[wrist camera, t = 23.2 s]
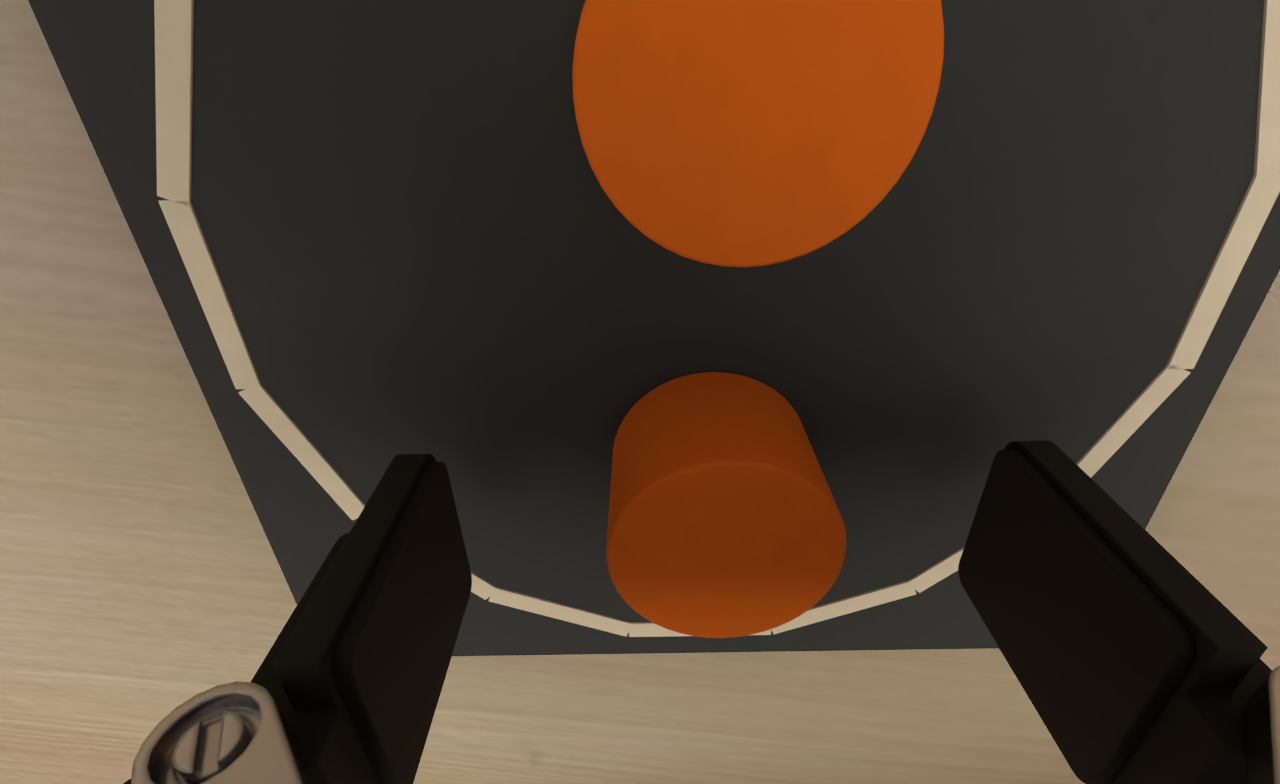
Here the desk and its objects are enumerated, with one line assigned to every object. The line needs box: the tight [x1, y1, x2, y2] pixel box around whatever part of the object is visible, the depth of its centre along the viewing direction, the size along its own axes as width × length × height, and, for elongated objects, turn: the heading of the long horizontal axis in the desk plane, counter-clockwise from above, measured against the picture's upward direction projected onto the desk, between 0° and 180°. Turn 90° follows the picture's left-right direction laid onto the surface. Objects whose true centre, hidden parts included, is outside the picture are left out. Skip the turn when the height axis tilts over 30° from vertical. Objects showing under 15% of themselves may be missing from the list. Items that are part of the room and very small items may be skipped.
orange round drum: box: [606, 372, 847, 638], centre depth 11 cm, size 4×4×3 cm
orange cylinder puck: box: [572, 0, 944, 267], centre depth 8 cm, size 4×4×3 cm
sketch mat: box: [28, 0, 1280, 656], centre depth 11 cm, size 20×20×1 cm
